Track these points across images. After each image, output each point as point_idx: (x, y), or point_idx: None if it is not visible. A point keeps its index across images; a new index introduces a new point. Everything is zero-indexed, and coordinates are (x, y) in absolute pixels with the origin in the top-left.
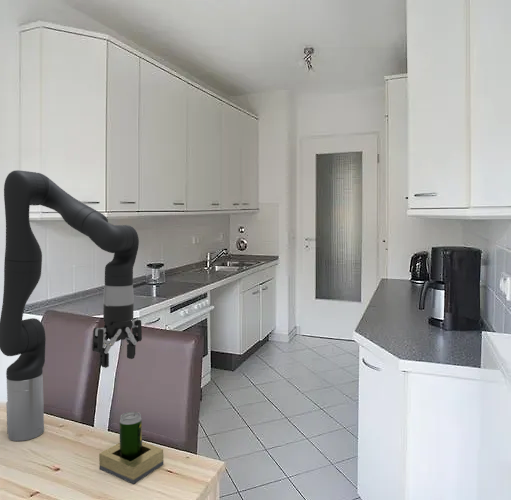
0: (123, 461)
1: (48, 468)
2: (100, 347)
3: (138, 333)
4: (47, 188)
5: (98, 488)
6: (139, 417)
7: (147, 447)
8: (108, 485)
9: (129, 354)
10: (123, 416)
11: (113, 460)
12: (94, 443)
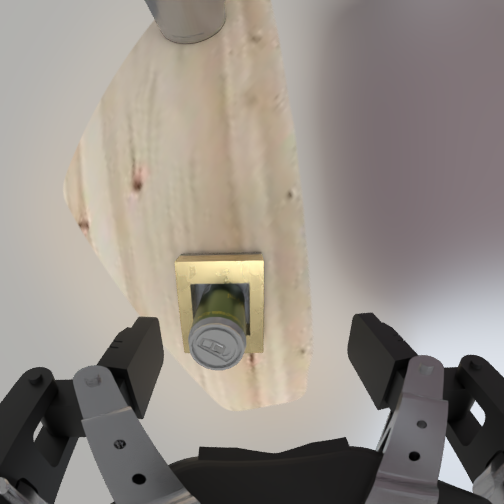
0: (185, 325)
1: (130, 169)
2: (55, 447)
3: (458, 453)
4: None
5: (147, 299)
6: (226, 367)
7: (251, 325)
8: (162, 307)
9: (360, 344)
10: (201, 337)
11: (178, 303)
12: (242, 157)
